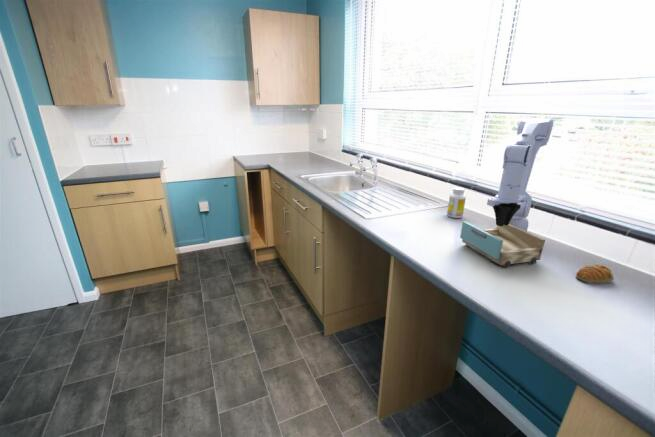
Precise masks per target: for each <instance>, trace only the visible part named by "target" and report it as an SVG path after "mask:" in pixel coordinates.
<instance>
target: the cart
mask: <svg viewBox="0 0 655 437" xmlns="http://www.w3.org/2000/svg"><path fill="white" fill-rule="evenodd" d="M482 230H484V231H486V232H488V233H490V234H492V235H494V236H495V237H497V238H499V239H501V240H503V244H502V248H501V253H500V257H499V259H495V258H493V257H492V256H490V255H488V254H487V253H485V252H483V251H482V250H480V249H478V248H477V247H475V246H473V245H472V244H470V243H468V242H467V241H465V240H463V239H462V240H461V242H462V243H464V244H465V245H467V246H469V247H470V248H471V249H473V250H475V251H477V252H478V253H480V254H481V255H484V257H487V258H488V259H490V260H491V261H493V262H495V263H496V264H498V265H500V266H501V267H503V268H505V269H507V268H510V266H511V265H512V264H513V265H514V264H519V263H528V264H530V265H534V264H536V263H537V261H540V260H541V257H542V254H543V250H544V246H545V241H546V239H545V238H542V237H540V236H537V235H535V234H533V233H531V232H528V230H527V231H524V230H522V229H520V228H517V227H515V226H513V225H511V224H508V226H506V225H503V226H498V225H496V228H486V229H485V228H484V229H482Z"/></svg>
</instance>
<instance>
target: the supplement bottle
mask: <svg viewBox="0 0 655 437" xmlns="http://www.w3.org/2000/svg"><path fill="white" fill-rule="evenodd" d="M452 191H453V192H452V193H450V194H449V199H448V205H447V211H446V213H447V214H446V215H447V216H448V217H450V218H452V219H453V218H454V219H460V218H463V215H464V211H465V210H464V209H465V204H466V198H467V197H466V195H465V188H464V187H458V186H457V187H453V188H452Z"/></svg>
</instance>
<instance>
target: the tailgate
mask: <svg viewBox="0 0 655 437" xmlns="http://www.w3.org/2000/svg"><path fill="white" fill-rule="evenodd" d="M459 238H460V239H462V240H465V241H467V242H468V243H470V244H472V245H473V246H475V247H477V248H478V249H480V250H482V251H483V252H485V253H487V254H488V255H490V256H492V257H493V258H495V259H499V257H500V253H501V248H502V244H503V240H501V239H499V238H497V237H495V236H494V235H492V234H490V233H488V232H486V231H484V230H483V229H481V228H480V227H478V226H476V225H474V224H472V223H470V222H468V221H462V224H461V230H460V235H459Z"/></svg>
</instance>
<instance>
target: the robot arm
mask: <svg viewBox="0 0 655 437" xmlns="http://www.w3.org/2000/svg"><path fill="white" fill-rule="evenodd" d="M554 123H555V120H554V118H532V117H531V118H529V117H527V118H526V117H522V118H521V119H520V120H519V121H518V126H517V131H516V132H517V135H516V137H515V138H514V139H513V142H512V143H511V144H510V145H506V148H505V150H504V153H503V163H502V169H503V170H502V175H501V179H500V185H499V190H498V194H495V196H493V197H490V198H488V199H487V202H486V206H489V207H492V209H493V211H494V212H493V213H494V216H495V225H496V226H497V225H498V226H503V225H506V226H508V224H511V225H513V226H515V227H517V228H520V229H522V230H524V231H527V232H528V230H529V229H528V228H529V219H528V218H527V217H528V216H529V214H530V210H531V206H532V201H533V199H532V196H531V194H529V193H528V192H527V187H528V184H529V181H530V178H531V173H532V170H533V167H534V163H535V160H536V156H537V154H538V153H539V150H540V149H541V147H544V146H547V144H548V142H549V140H550V137H551V134H552V131H553V127H554Z"/></svg>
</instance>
